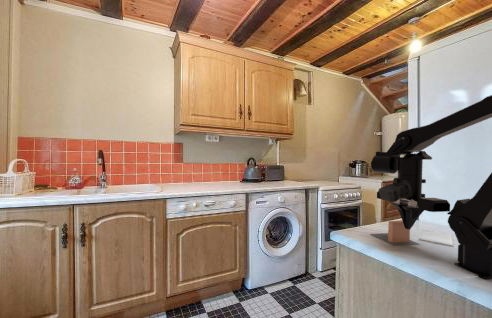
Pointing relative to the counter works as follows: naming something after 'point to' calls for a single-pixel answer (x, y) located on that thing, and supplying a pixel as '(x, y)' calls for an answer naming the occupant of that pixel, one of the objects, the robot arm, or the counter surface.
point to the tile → (398, 232)
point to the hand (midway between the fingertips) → (407, 229)
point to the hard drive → (436, 237)
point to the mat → (385, 238)
